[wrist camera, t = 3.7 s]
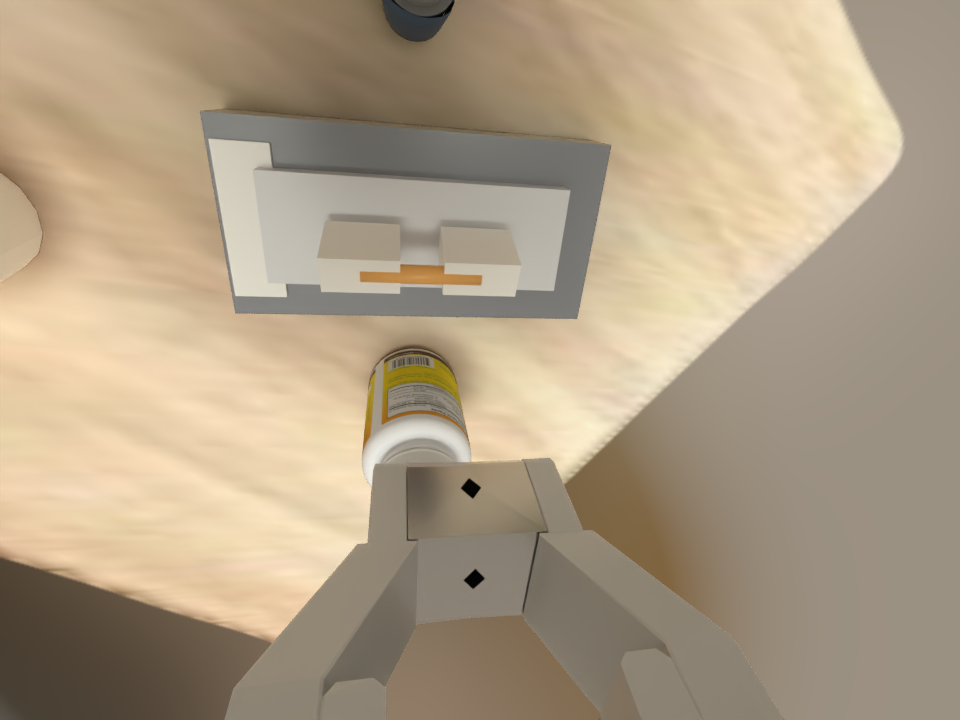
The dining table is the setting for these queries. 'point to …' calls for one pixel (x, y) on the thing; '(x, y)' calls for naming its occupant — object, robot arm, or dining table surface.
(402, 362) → the supplement bottle
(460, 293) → the double breaker paddle
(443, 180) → the panel
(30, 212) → the white cylinder
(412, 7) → the vaping device
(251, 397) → the dining table surface
